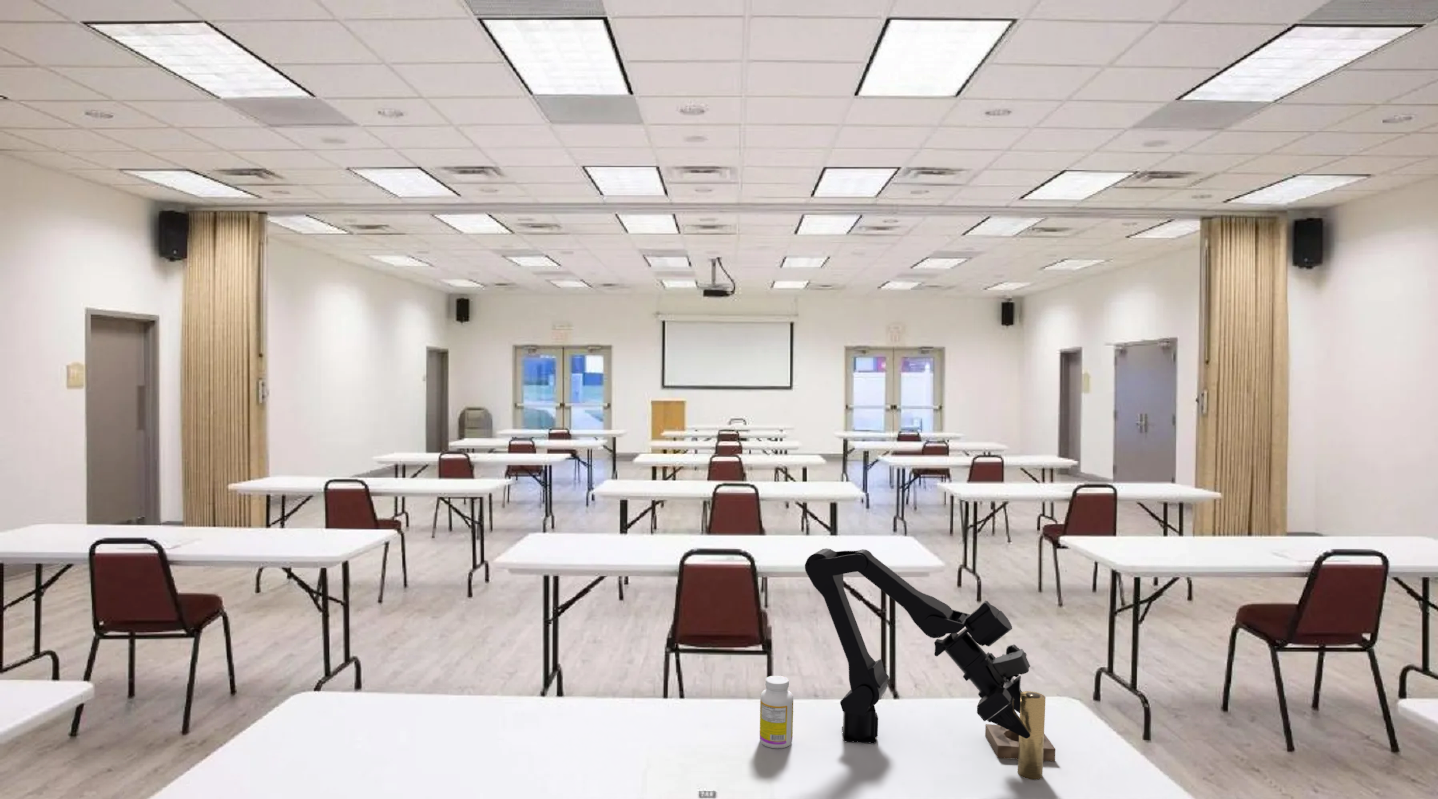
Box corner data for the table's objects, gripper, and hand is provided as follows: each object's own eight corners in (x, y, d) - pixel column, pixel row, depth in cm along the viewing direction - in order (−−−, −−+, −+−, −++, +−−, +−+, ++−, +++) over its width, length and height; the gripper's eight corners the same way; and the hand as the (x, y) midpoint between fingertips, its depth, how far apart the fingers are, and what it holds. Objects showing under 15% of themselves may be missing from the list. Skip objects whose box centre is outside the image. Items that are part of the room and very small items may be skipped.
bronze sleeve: (1021, 779, 154) (1024, 698, 154) (1014, 768, 159) (1017, 689, 158) (1045, 780, 154) (1048, 700, 154) (1038, 769, 158) (1041, 691, 158)
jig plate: (997, 758, 163) (997, 745, 163) (985, 735, 173) (985, 724, 173) (1054, 761, 162) (1055, 748, 162) (1039, 739, 172) (1039, 727, 172)
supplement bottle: (774, 732, 172) (776, 671, 171) (799, 743, 167) (800, 680, 167) (752, 741, 167) (754, 678, 167) (777, 753, 162) (778, 688, 162)
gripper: (997, 649, 150) (1061, 722, 145) (1009, 622, 166) (1067, 686, 162) (951, 685, 153) (1012, 756, 149) (968, 655, 170) (1023, 718, 166)
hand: (1031, 727), depth 156 cm, fingers open, 9 cm apart
